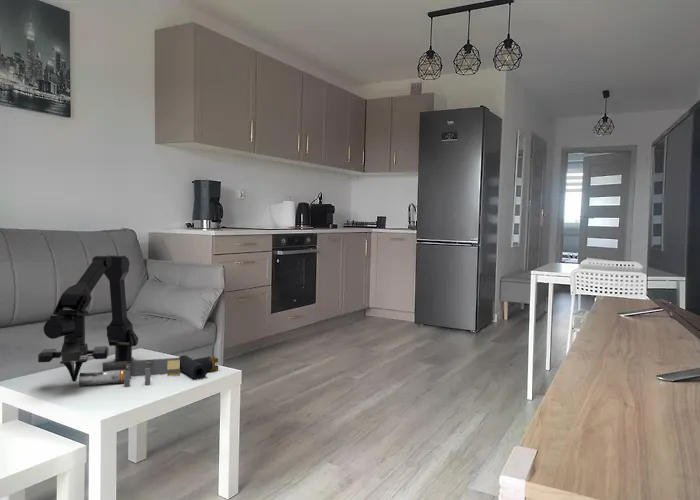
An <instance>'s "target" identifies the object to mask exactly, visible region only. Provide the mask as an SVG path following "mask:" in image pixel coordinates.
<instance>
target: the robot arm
mask: <svg viewBox="0 0 700 500" xmlns="http://www.w3.org/2000/svg"><path fill="white" fill-rule="evenodd" d="M129 272H130V260H129V258H128V257H127V255H118V254H117V255H115V254H113V255H111V254H108V255H96V256H93V258H92V262H91V263H90V264H89V265H88V267H87V268H86V270H85V271H84V273H83V274H82V275H81V276H80V278H79V279H78V281H77V282H76V283H75V284H73V285H71V286H69V287H68V288H66V289H65V291H64V292H62V294H61V295H60V298H59V299H58V301H57V304H56V306H55V309H54V311H53V312H52V314H51V315H50V316H49V317H50V318H49V319H48V320H47V321H46V322H45V324H44V325H43V332H44V333H43V334H44V335H45V336H46V338H49V339H52V340H54V339H58V338H61V337H63V343H62V346H61V350H60V351H57V348H48V349H47V348H44V349H43V350H41V351H40V353H38V355H37V362H38V363H50V362H51V361H53V360H54V359H60V362H59V364H60V365H61V364H62V365H64V366H65V368H66V369H67V370H68V374H69V375H70V378H71V381H72V382H73V383H74V382H76V381H77V379H78V376H79V375H80V371H81V367H82V365H83V363H88V360H89V357H92V358H93V359H95V360H106V359H108V357H109V353H110V351H109V347H112V346H114V359H113V362H119V361H134V357H133V347H136V346H137V345H138V343H139V337H138V335H137V334H136V333H135V331H134V327H133V323H132V322H131V320H130V319H129V318H128V313H127V311H128V310H127V297H126V284H125V279H126V278H127V275H128V273H129ZM103 275H104V276H105V277H106V279H107V280H108V282H109V296H110V297H109V298H110V310H111V321H110V323H109V324H108V325H107V326H106V338H107V341H108V346H109V347H108V346H107V345H105V346H95V347H94V348H93V349H89V348H88V343H86V316H88V315H90V314H89V312H88V310H87V308H88V307H89V305H90V303H91V300H92V298H93V297H92V292H93V290H94V288H95V287H96V286H97V284H98V282H99V281H100V280H101V278H102V276H103Z"/></svg>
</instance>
